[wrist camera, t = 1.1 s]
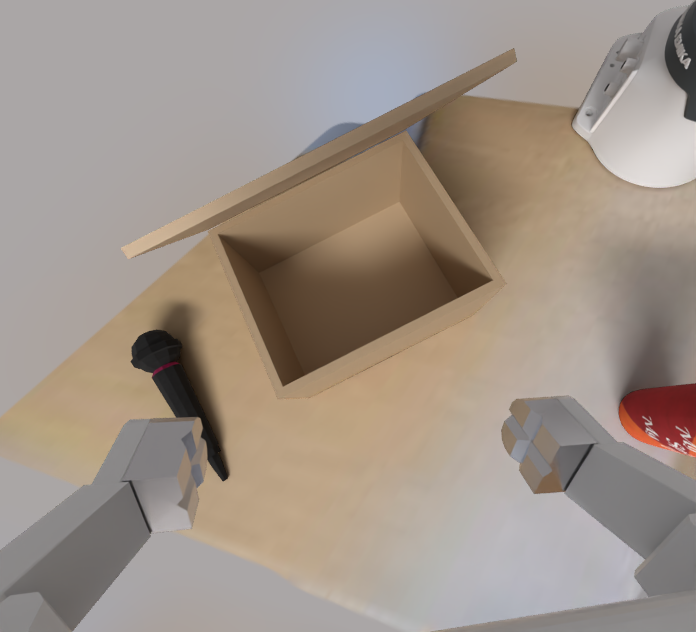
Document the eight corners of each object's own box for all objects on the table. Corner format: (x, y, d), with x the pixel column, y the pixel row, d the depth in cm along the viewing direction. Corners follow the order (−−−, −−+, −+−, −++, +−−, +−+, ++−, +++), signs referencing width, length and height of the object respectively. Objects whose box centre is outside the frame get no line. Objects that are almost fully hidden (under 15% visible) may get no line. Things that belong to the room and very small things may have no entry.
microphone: (248, 462, 44) (174, 328, 46) (245, 468, 38) (162, 317, 41) (207, 489, 42) (132, 349, 44) (198, 500, 37) (114, 339, 39)
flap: (208, 229, 34) (204, 223, 34) (404, 129, 34) (402, 123, 34) (128, 259, 17) (120, 248, 17) (517, 61, 17) (514, 47, 17)
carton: (253, 272, 46) (207, 231, 34) (401, 197, 46) (406, 130, 34) (309, 398, 41) (278, 399, 30) (473, 314, 41) (506, 283, 30)
